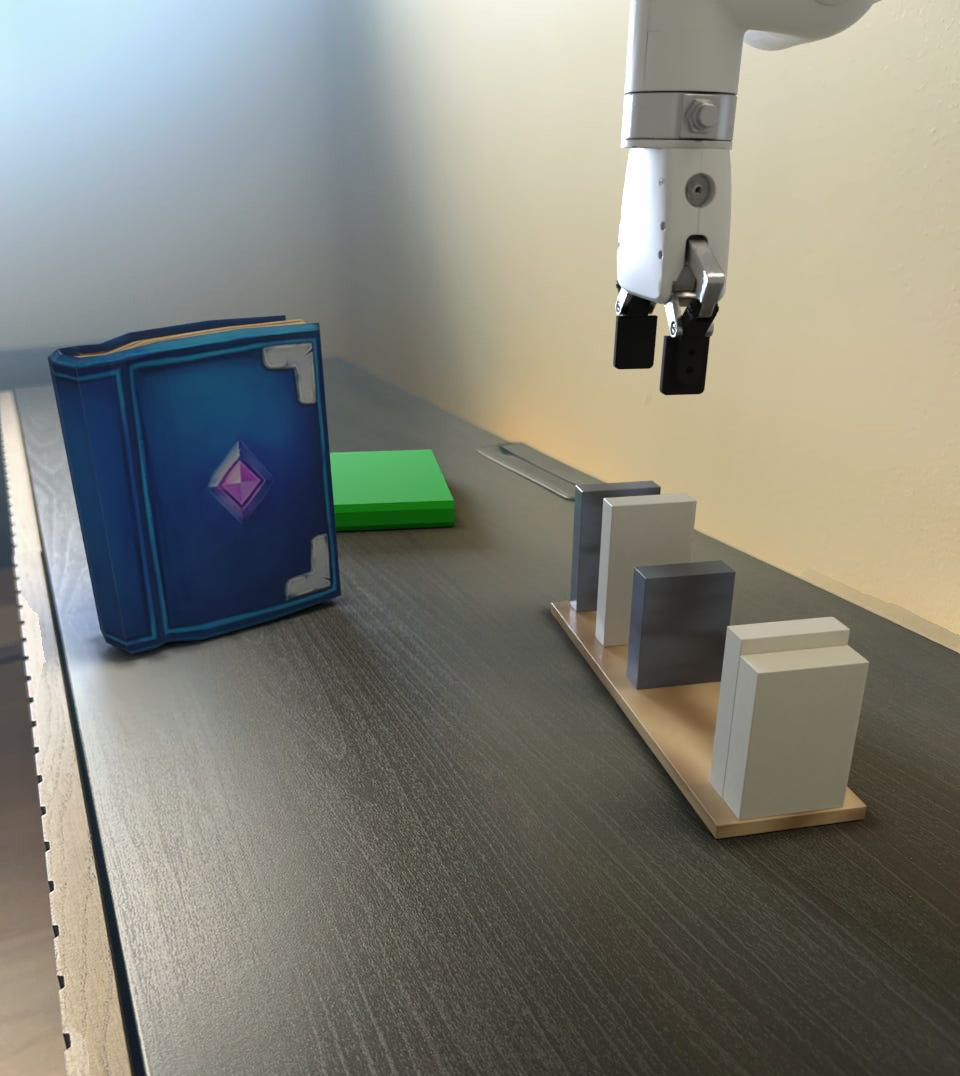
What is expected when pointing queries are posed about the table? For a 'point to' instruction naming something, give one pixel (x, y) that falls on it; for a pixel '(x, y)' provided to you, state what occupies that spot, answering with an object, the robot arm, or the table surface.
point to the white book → (637, 552)
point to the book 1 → (200, 476)
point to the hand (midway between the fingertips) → (655, 380)
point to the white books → (786, 717)
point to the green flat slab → (389, 490)
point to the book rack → (669, 662)
